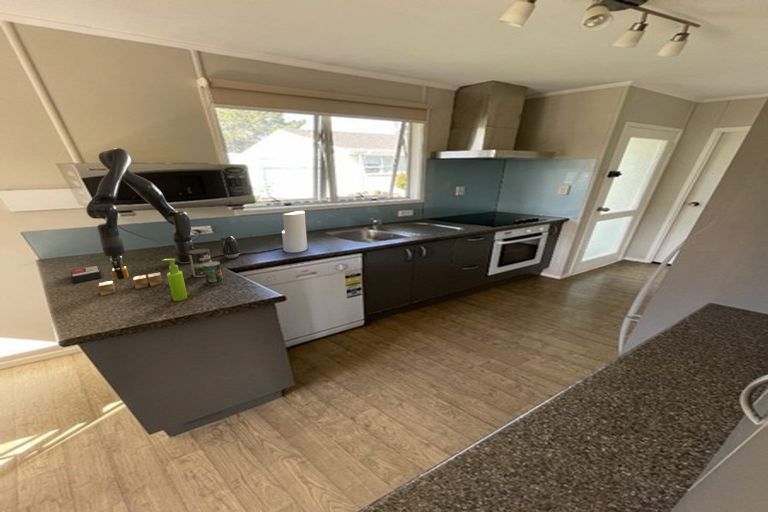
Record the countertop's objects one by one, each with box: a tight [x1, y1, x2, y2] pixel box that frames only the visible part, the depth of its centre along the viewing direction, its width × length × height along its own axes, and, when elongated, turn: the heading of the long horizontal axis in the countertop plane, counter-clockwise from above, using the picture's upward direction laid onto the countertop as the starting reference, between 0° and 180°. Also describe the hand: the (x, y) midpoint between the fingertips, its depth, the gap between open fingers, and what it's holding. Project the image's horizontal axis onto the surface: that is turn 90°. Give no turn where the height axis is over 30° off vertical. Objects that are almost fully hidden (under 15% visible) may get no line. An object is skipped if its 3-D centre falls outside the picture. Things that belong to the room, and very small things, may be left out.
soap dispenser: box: [161, 258, 189, 302], centre depth 134 cm, size 6×7×20 cm
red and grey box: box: [70, 265, 103, 284], centre depth 159 cm, size 11×4×15 cm
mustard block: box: [111, 265, 130, 281], centre depth 143 cm, size 5×5×5 cm
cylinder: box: [281, 210, 308, 253], centre depth 212 cm, size 17×17×28 cm
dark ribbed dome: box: [220, 235, 241, 260], centre depth 193 cm, size 10×10×15 cm
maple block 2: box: [147, 272, 163, 287], centre depth 153 cm, size 5×5×5 cm
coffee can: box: [188, 247, 212, 278], centre depth 165 cm, size 10×10×14 cm
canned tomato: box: [203, 260, 224, 286], centre depth 154 cm, size 8×8×11 cm
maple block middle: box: [132, 274, 149, 290], centre depth 149 cm, size 5×5×5 cm
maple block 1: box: [97, 280, 116, 296], centre depth 141 cm, size 5×5×5 cm
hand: (121, 276), depth 144 cm, fingers closed on mustard block, 5 cm apart
